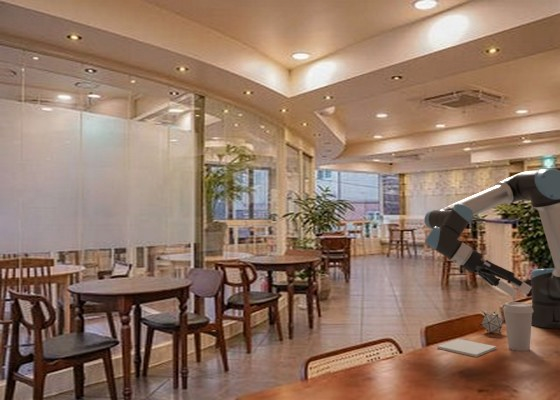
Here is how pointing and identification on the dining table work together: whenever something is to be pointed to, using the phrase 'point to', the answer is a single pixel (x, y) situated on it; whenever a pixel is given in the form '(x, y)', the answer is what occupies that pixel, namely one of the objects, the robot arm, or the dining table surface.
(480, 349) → the mat
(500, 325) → the game die
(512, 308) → the coffee cup
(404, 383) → the dining table surface
